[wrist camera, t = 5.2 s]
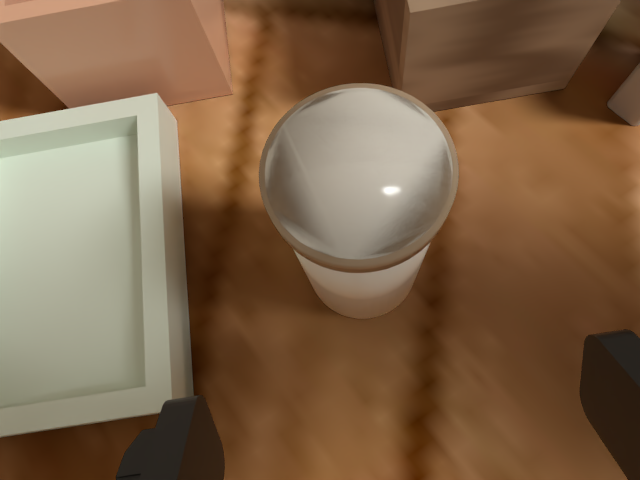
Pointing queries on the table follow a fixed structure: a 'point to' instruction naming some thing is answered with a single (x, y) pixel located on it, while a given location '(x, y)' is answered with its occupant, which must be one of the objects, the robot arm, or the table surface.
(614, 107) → the lighter
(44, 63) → the pink square bin
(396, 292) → the cream canister
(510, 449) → the table surface
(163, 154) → the sage tray
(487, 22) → the brown open square box
